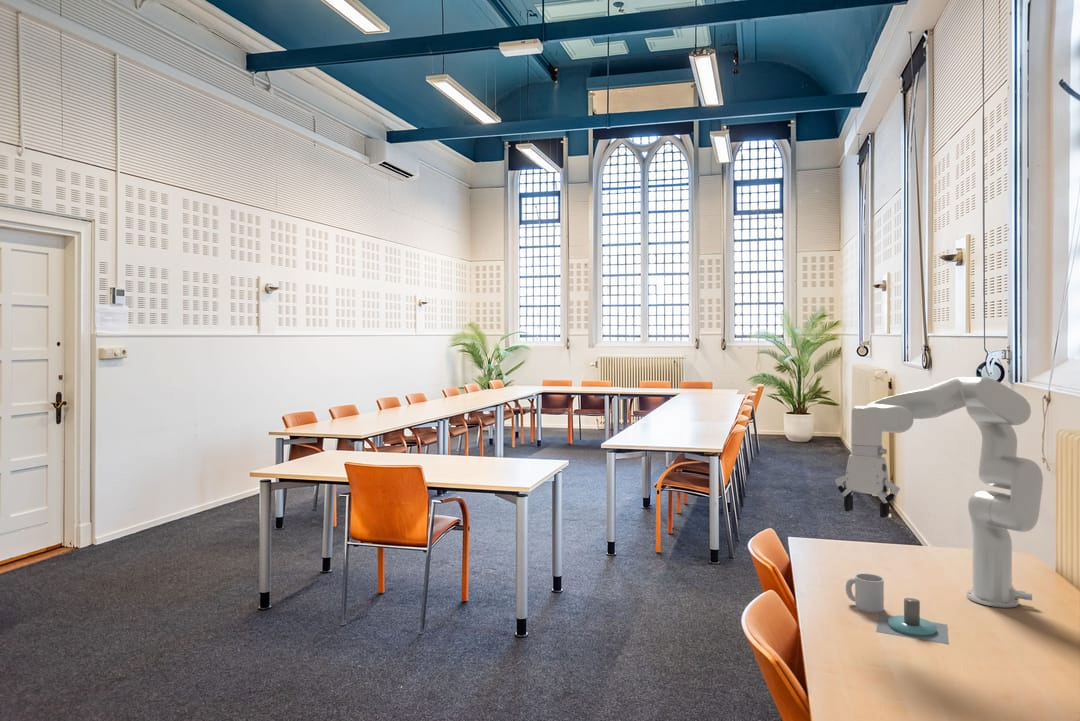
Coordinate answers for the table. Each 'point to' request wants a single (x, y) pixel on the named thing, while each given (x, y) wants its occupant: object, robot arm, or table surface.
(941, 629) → the mat
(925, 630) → the lid
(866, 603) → the cup
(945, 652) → the table surface
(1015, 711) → the table surface
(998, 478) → the robot arm
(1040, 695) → the table surface
